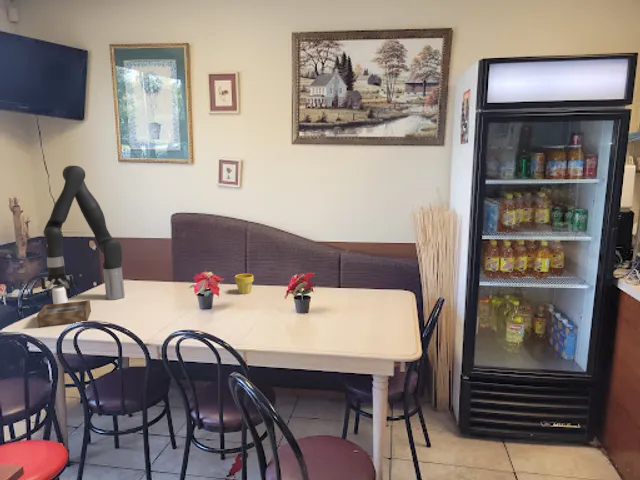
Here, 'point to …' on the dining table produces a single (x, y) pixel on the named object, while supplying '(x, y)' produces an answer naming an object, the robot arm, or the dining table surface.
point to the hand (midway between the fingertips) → (59, 295)
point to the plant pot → (244, 283)
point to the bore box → (63, 313)
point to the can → (59, 294)
